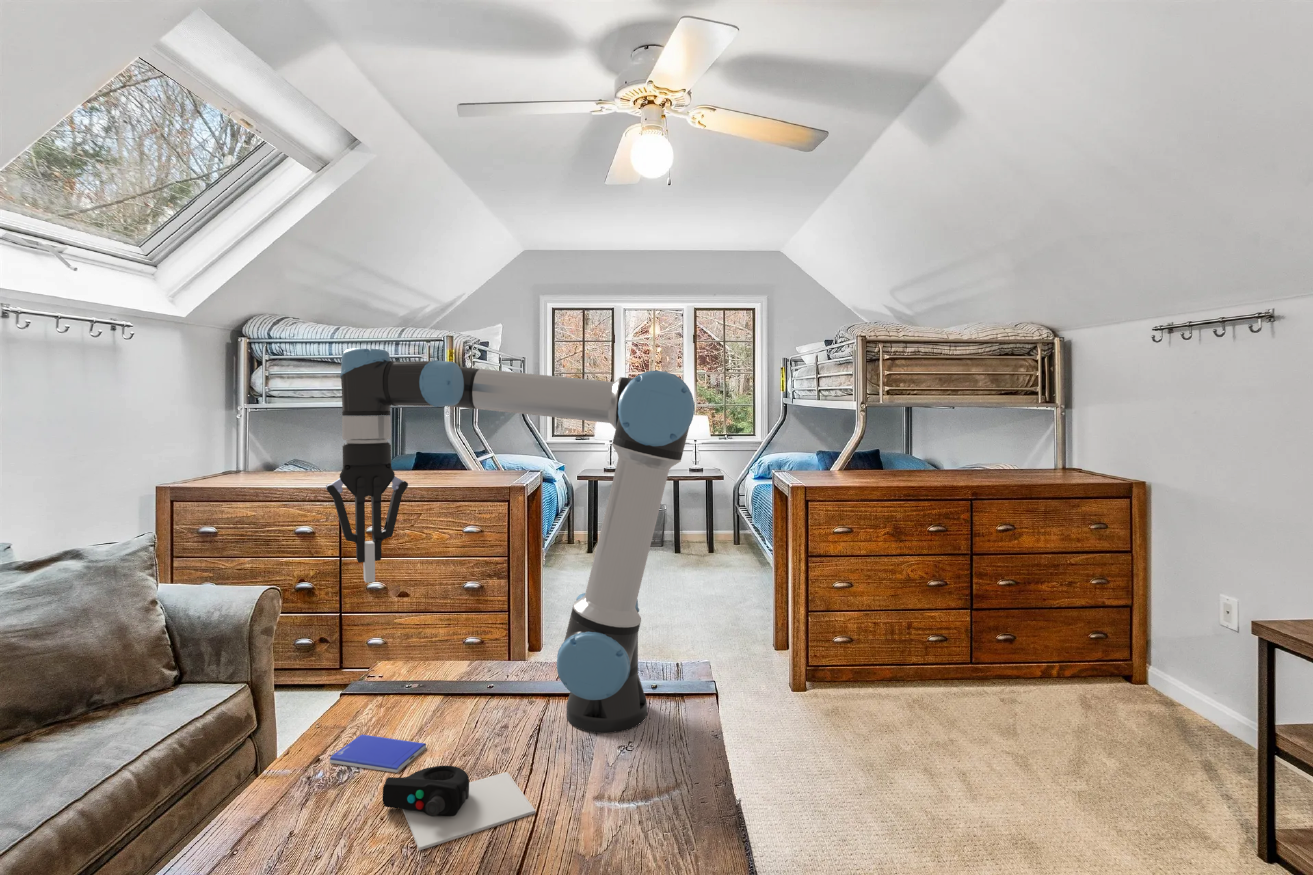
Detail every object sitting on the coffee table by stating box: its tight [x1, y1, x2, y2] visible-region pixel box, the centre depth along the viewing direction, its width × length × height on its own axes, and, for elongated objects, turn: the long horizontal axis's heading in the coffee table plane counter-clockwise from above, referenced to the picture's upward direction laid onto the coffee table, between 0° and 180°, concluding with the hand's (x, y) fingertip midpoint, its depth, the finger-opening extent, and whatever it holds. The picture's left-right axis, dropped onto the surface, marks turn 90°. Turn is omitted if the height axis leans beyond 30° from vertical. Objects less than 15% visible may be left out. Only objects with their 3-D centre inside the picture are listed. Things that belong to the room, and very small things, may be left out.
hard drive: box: [329, 734, 427, 774], centre depth 113 cm, size 2×8×12 cm
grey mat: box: [401, 771, 536, 851], centre depth 98 cm, size 16×12×1 cm
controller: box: [382, 765, 470, 817], centre depth 98 cm, size 4×12×10 cm
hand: (369, 580), depth 115 cm, fingers closed
